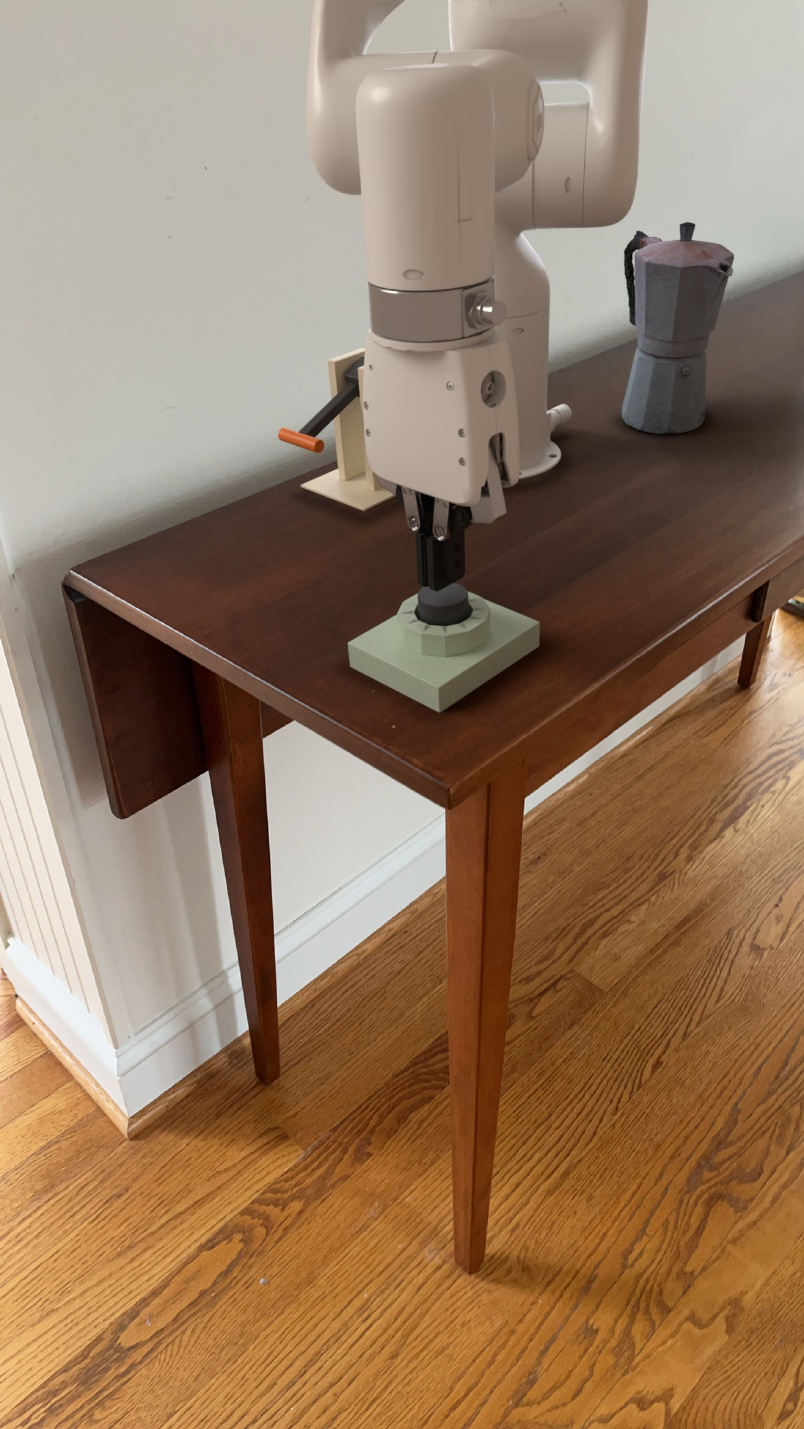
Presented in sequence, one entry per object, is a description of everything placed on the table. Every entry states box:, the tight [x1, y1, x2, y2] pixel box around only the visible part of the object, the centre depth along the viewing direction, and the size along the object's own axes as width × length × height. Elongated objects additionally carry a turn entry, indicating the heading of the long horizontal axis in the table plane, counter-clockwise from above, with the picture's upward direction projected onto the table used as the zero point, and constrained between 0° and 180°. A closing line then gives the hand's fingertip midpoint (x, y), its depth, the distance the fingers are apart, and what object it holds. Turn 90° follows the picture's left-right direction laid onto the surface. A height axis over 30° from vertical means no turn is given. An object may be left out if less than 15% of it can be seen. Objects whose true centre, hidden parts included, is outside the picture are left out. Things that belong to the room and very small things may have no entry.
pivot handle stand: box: [300, 347, 397, 512], centre depth 97 cm, size 11×9×13 cm
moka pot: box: [621, 221, 735, 435], centre depth 106 cm, size 10×15×20 cm, turn 33°
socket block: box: [347, 591, 541, 713], centre depth 75 cm, size 11×9×4 cm
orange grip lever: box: [277, 356, 365, 454], centre depth 93 cm, size 11×5×2 cm, turn 136°
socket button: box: [417, 582, 469, 626], centre depth 73 cm, size 4×4×2 cm
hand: (441, 580), depth 72 cm, fingers closed
